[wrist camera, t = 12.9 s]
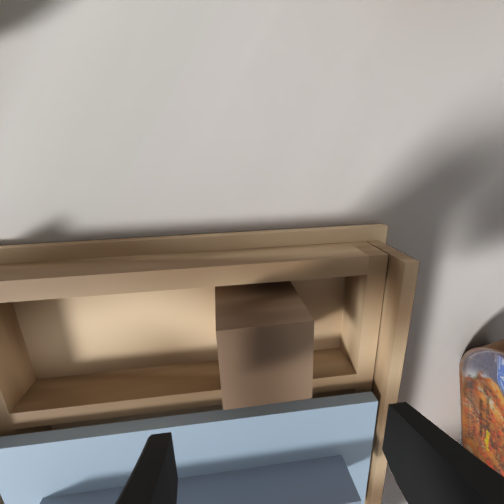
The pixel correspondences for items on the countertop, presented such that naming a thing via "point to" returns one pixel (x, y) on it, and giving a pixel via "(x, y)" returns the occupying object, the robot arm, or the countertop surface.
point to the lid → (206, 456)
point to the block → (263, 344)
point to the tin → (483, 403)
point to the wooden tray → (191, 323)
